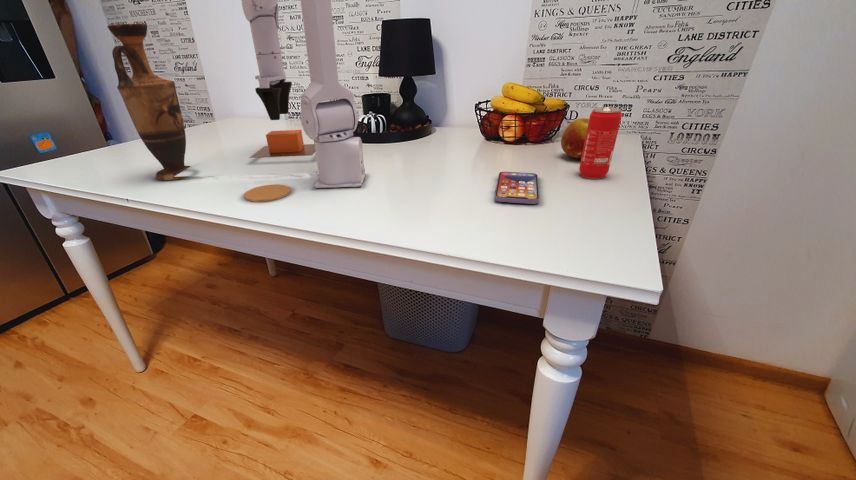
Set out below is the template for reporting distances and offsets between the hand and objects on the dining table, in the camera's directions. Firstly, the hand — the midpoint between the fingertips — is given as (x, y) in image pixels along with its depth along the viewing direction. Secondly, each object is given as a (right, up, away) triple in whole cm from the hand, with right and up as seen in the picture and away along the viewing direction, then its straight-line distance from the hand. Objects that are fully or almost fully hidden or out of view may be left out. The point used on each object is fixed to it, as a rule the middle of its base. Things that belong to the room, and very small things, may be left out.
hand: (279, 116), depth 99 cm
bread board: (+1, -8, +5) cm, 10 cm away
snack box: (+1, -7, +5) cm, 8 cm away
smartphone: (+51, -24, -25) cm, 61 cm away
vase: (-23, -16, -5) cm, 28 cm away
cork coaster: (+3, -23, -20) cm, 31 cm away
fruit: (+70, -13, -9) cm, 72 cm away
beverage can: (+67, -20, -20) cm, 73 cm away
